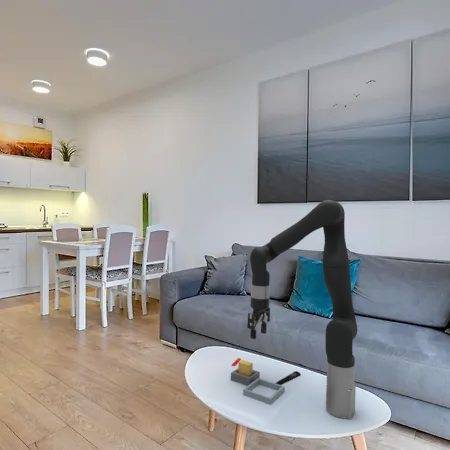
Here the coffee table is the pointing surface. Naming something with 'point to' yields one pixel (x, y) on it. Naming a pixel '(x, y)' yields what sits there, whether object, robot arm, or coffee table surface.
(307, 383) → the coffee table surface
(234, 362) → the swiss army knife
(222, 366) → the coffee table surface
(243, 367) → the block
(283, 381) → the electric trimmer
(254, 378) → the block
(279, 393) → the tray
